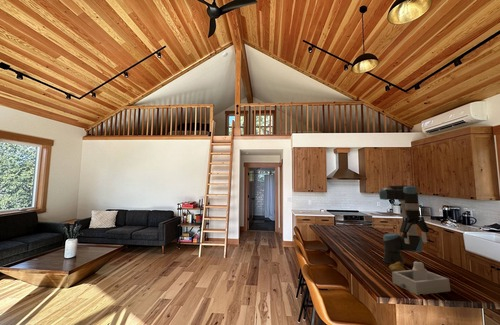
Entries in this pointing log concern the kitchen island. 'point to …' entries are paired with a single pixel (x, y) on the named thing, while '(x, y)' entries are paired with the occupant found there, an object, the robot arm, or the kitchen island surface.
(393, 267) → the bread roll
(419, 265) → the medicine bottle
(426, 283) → the grey rectangular tray
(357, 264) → the kitchen island surface
